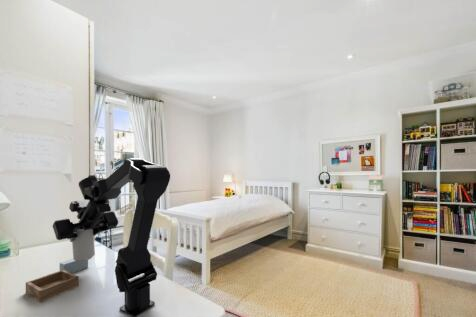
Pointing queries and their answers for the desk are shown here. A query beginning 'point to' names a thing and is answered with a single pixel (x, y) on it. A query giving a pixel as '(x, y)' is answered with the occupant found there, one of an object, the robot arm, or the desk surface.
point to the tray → (51, 285)
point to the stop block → (73, 265)
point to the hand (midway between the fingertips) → (80, 238)
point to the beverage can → (83, 245)
